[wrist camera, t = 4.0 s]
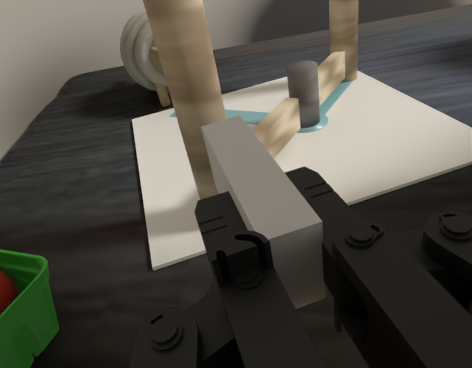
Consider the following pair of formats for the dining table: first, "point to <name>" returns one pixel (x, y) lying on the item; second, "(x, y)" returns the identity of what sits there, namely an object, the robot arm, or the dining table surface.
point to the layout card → (302, 153)
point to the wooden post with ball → (327, 64)
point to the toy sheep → (143, 56)
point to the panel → (204, 86)
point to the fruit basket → (24, 309)
